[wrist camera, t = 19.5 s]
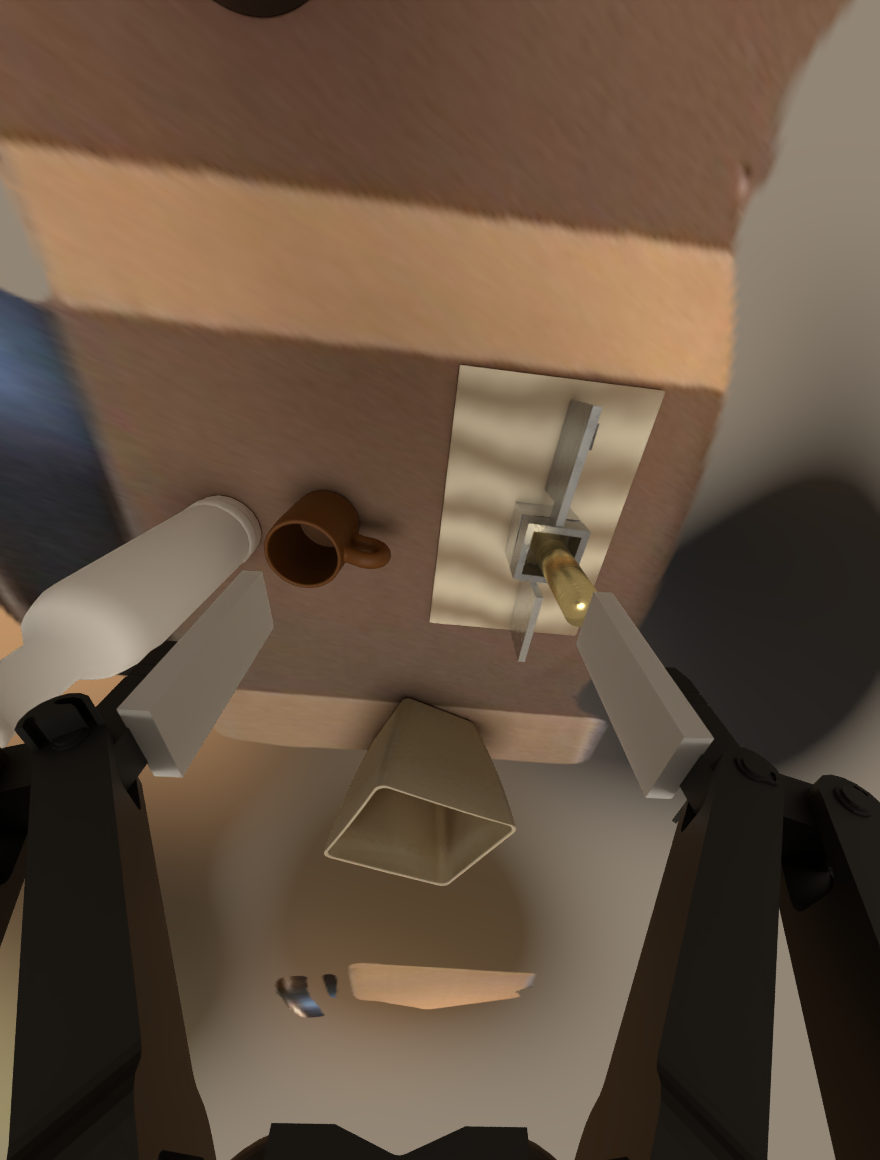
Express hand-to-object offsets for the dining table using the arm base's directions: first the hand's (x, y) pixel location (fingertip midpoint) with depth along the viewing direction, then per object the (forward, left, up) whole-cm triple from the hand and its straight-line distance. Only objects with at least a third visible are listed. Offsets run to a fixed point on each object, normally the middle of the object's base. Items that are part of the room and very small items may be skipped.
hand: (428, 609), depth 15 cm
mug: (+9, -10, -29) cm, 32 cm away
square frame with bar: (+1, +12, -28) cm, 30 cm away
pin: (+7, +12, -28) cm, 31 cm away
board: (+6, +11, -29) cm, 32 cm away
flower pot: (+45, +2, -29) cm, 53 cm away
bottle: (+11, -24, -29) cm, 39 cm away
